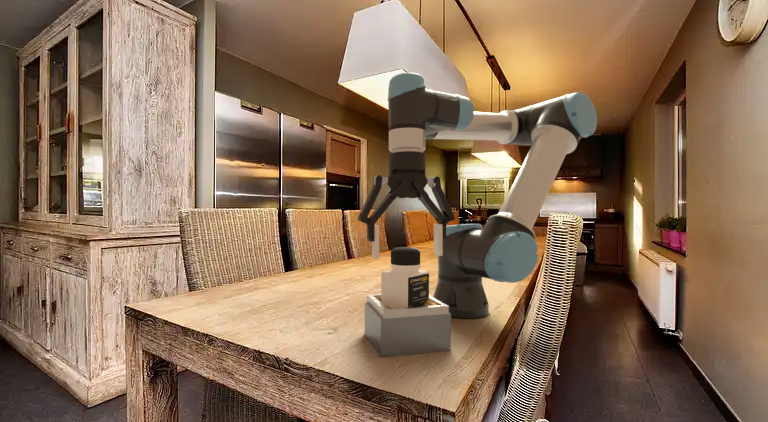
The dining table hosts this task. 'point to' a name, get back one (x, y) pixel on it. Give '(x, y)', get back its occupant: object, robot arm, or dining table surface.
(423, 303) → the medicine bottle
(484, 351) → the dining table surface
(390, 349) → the grey box
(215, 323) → the dining table surface
